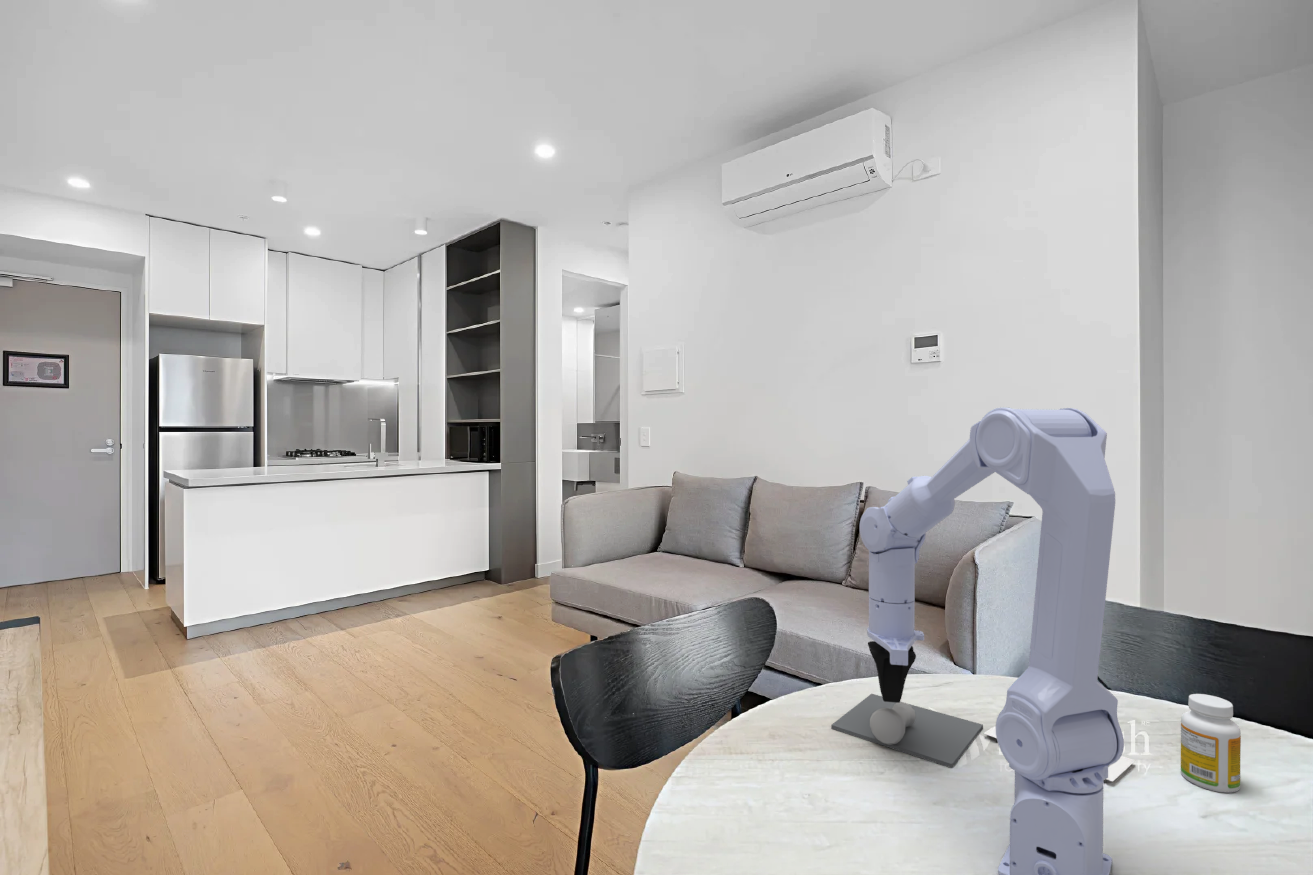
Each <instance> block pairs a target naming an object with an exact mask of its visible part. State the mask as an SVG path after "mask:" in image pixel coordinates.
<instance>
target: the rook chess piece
mask: <svg viewBox="0 0 1313 875" xmlns="http://www.w3.org/2000/svg"><path fill="white" fill-rule="evenodd" d="M909 704H910V703H907V702H903V701H900V703H896V704H895V705H894V706H893V708H892V709H889V708H882V709H879V710H876V711H875V712H874V713H872V716H871V718H870V727H871V730H872V733H873V734H874V736H875V737H876V738H877V739H878V740H879V741H881V742H882V743H884V744H888V745H893V744H896V743H898V742H899V741H901V739H902V738H903V736H904V734H905V727H908V726H911V725H913V724H914V722H915V720H916V715H915V711H914V710H913V709H912V707H911V706H910V705H909Z"/></svg>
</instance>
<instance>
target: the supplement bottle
mask: <svg viewBox="0 0 1313 875" xmlns="http://www.w3.org/2000/svg"><path fill="white" fill-rule="evenodd" d="M1187 704H1188V705H1187V706H1188V709H1189V710H1188V711H1185V712H1184V713H1182V715H1181V716H1180V774H1181V775H1182V777H1183V778H1184V779H1186V780H1187V781H1188V782H1190V783H1192V784H1193V785H1195V786H1198V787H1200V788H1202V789H1206V790H1209V791H1212V792H1218V793H1229V794H1230V793H1236V792H1237V791H1239V790H1240V788H1241V747H1242V746H1241V745H1242V744H1241V742H1242V740H1241V739H1242V736H1241V733H1242V732H1241V728H1240V727H1239V725H1238V724H1237V723H1236V722H1235V721H1234V720H1232V719H1233V716H1234V705H1233V703H1232V702H1230V701H1229V700H1227V699H1224V698H1221V697H1219V696H1216V695H1210V694H1205V693H1193V694H1189V695H1188V702H1187Z"/></svg>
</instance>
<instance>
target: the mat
mask: <svg viewBox="0 0 1313 875" xmlns="http://www.w3.org/2000/svg"><path fill="white" fill-rule="evenodd" d="M895 704H896V703H895V702H884V701H883V698H882V695H878V694H874V693H871V694H869V695H867V697H865V698H864V699H863V700H861V701H860V702H859V703H857V704H856V705H854V707H853V708H851V709H850V710H849V711H847V712H846V713H845V714H843V715H842V716H841V717H839V718H838V719H837V720H835V721H834V722H833V723H832V724H831V726H830V727H831V728H830V729H832V730H834V731H837V732H840V733H844V734H847V735H850V736H853V737H855V738H856V737H857V738H859V739H862V740H866V741H868V742H871V743H874V744H877V745H880V746H884V747H887V748H890V749H893V750H896V751H899V752H902V753H905V754H908V755H911V756H914V757H917V758H920V759H923V760H926V761H929V762H932V763H936V764H938V765H942V766H944V767H947V768H951V769H953V768H954V767H955V765H956V764H957V762H959V760H960V759H961V757H963V755H964V754H965V753H966V751H967V750H968V748H969V747H970V745H971V744H972V743H973V742H974V741H975V739H976V738H977V737H978V735H979V734H980V733H981V731H982V730H983V729H984V724H982V723H979V722H975V721H971V720H968V719H964V718H960V717H958V716H954V715H949V714H946V713H942V712H939V711H936V710H932V709H928V708H925V707H921V706H918V705H914V704H910V703H908V704H909V705H910V706H911V707H912V709H913V710H914V711H915V715H916V720H915V722H914V724H913V725H911V726H908V727H905V734H904V736H903V738H902V739H901V741H899V742H898V743H896V744H893V745H888V744H884V743H882V742H881V741H879V740H878V739H877V738H876V737H875V736H874V734H873V733H872V730H871V727H870V718H871V716H872V713H874V712H875V711H876V710H879V709H882V708H889V709H892V708H893V706H894V705H895Z"/></svg>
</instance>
